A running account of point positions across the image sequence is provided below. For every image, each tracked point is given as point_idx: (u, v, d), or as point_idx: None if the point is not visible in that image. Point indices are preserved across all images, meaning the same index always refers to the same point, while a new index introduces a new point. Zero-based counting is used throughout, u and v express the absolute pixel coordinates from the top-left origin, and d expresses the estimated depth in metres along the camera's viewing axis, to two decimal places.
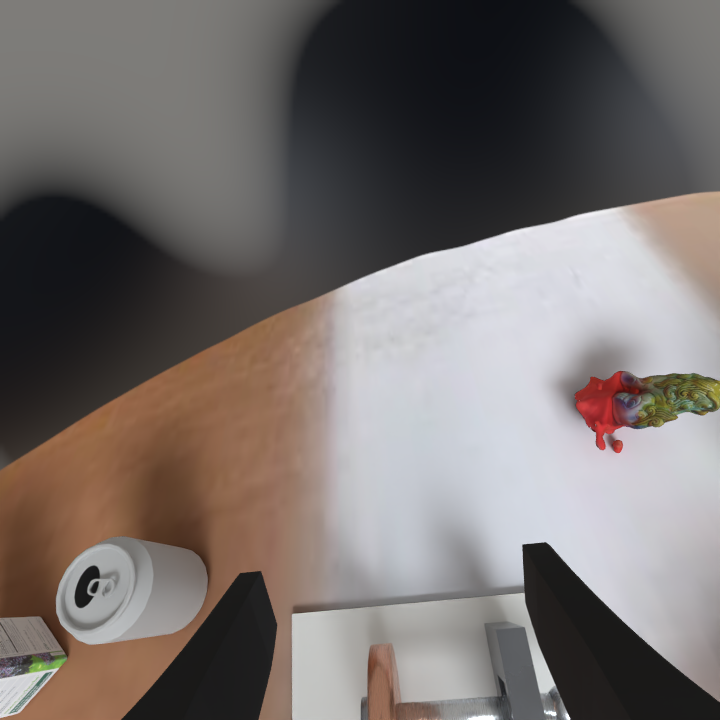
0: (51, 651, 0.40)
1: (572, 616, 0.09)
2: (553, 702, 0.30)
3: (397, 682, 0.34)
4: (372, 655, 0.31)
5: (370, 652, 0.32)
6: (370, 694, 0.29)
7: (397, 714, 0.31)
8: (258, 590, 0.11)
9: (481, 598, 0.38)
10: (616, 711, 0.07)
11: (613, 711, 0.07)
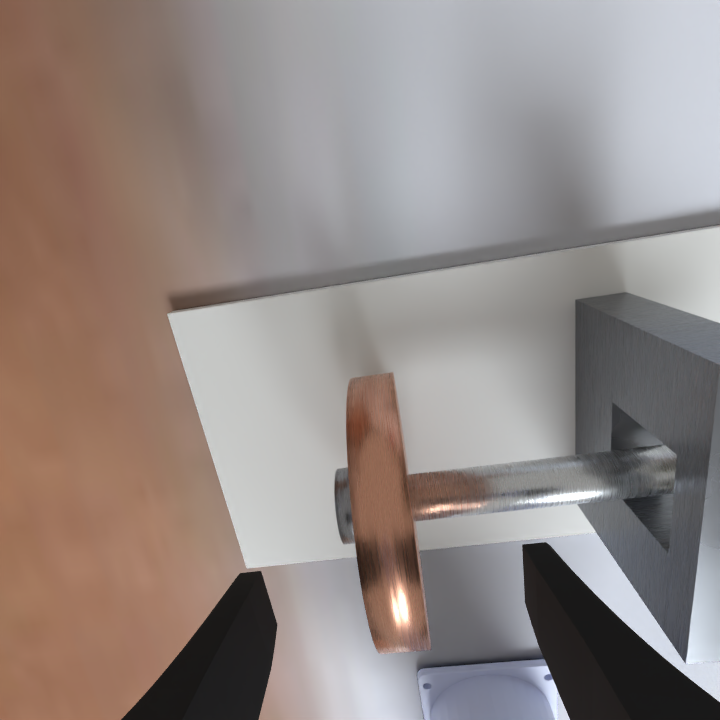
0: None
1: (572, 616, 0.09)
2: None
3: (400, 420, 0.17)
4: (356, 431, 0.12)
5: (349, 422, 0.12)
6: (361, 536, 0.11)
7: (413, 503, 0.15)
8: (258, 590, 0.11)
9: (580, 252, 0.17)
10: (616, 711, 0.07)
11: (613, 711, 0.07)
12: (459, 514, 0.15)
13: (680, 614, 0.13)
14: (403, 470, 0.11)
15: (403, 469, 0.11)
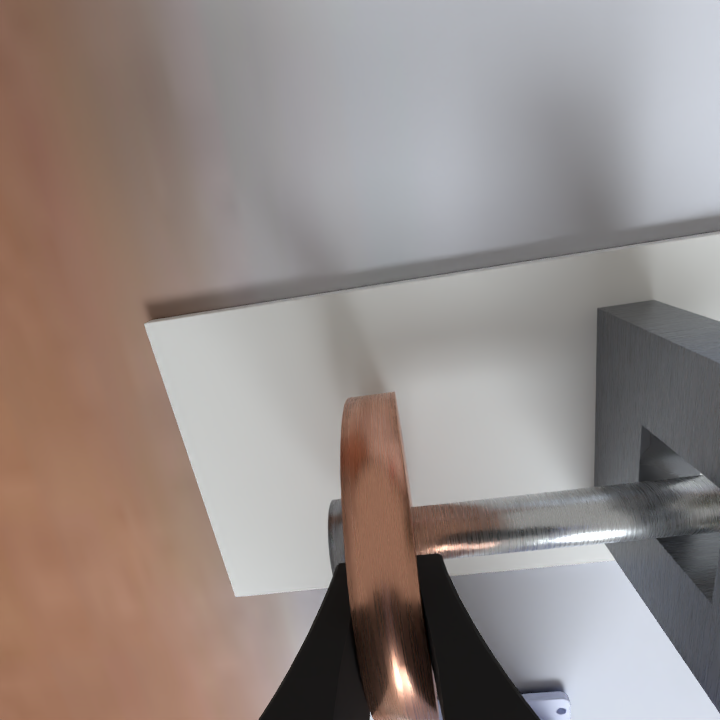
0: None
1: (433, 628, 0.09)
2: None
3: None
4: (352, 467, 0.10)
5: (344, 456, 0.11)
6: (357, 597, 0.09)
7: (418, 543, 0.13)
8: None
9: (603, 255, 0.15)
10: None
11: None
12: (470, 555, 0.13)
13: None
14: (407, 517, 0.10)
15: (407, 516, 0.10)
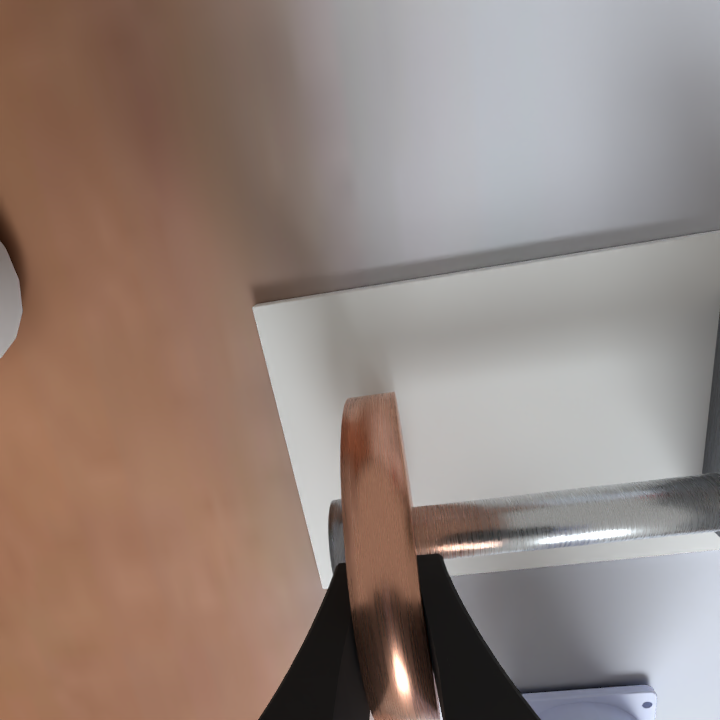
0: None
1: (433, 628, 0.09)
2: None
3: None
4: (352, 467, 0.10)
5: (344, 456, 0.11)
6: (357, 597, 0.09)
7: (418, 543, 0.13)
8: None
9: None
10: None
11: None
12: (470, 555, 0.13)
13: None
14: (408, 517, 0.10)
15: (407, 516, 0.10)
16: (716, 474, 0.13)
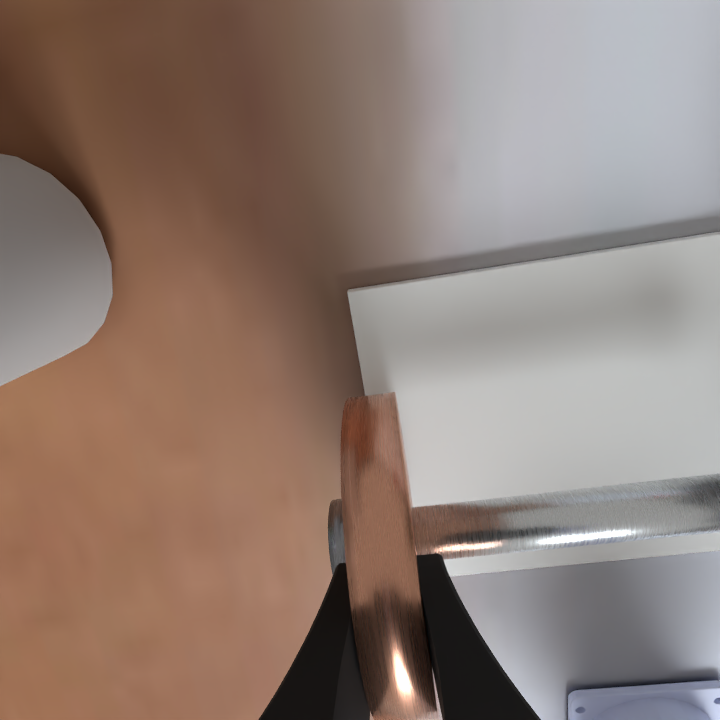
0: None
1: (433, 628, 0.09)
2: None
3: None
4: (352, 467, 0.10)
5: (344, 456, 0.11)
6: (358, 597, 0.09)
7: (418, 543, 0.13)
8: None
9: None
10: None
11: None
12: (470, 555, 0.13)
13: None
14: (408, 517, 0.10)
15: (408, 516, 0.10)
16: (716, 475, 0.13)
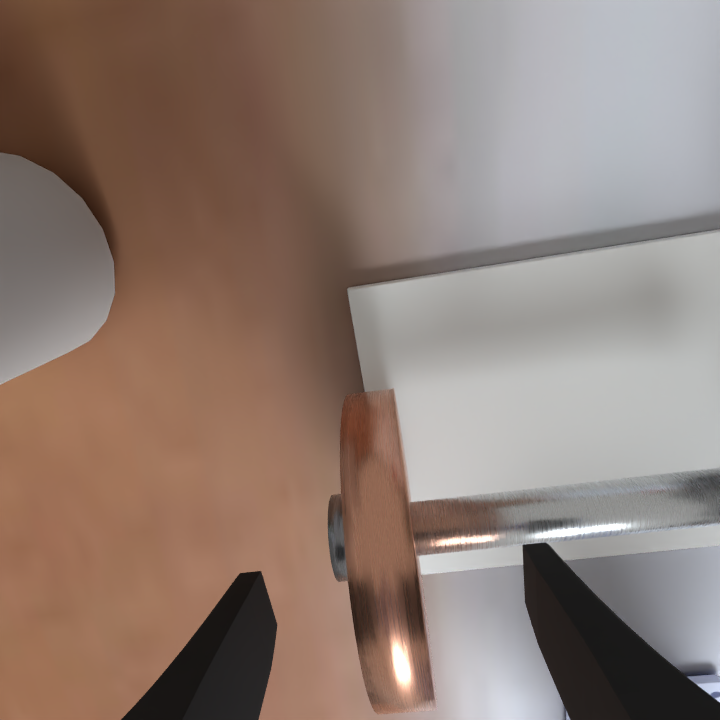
0: None
1: (572, 616, 0.09)
2: None
3: None
4: (351, 461, 0.11)
5: (344, 450, 0.11)
6: (357, 588, 0.09)
7: (416, 537, 0.13)
8: (258, 590, 0.11)
9: None
10: (616, 711, 0.07)
11: (613, 711, 0.07)
12: (468, 549, 0.13)
13: None
14: (406, 510, 0.10)
15: (406, 509, 0.10)
16: (709, 470, 0.13)
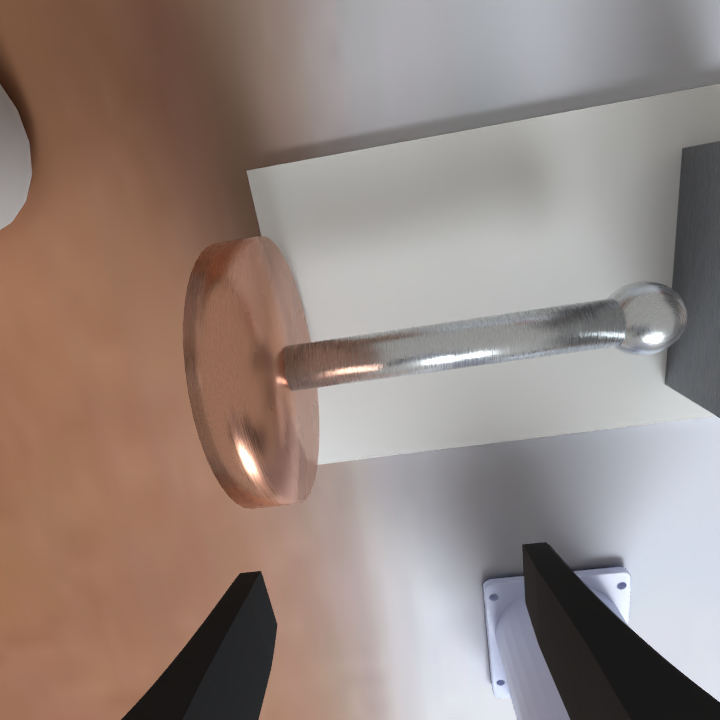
0: None
1: (572, 616, 0.09)
2: (626, 317, 0.13)
3: (294, 305, 0.17)
4: (203, 266, 0.12)
5: (199, 261, 0.12)
6: (191, 356, 0.11)
7: (286, 367, 0.14)
8: (258, 590, 0.11)
9: (691, 92, 0.16)
10: (616, 711, 0.07)
11: (613, 711, 0.07)
12: (334, 379, 0.14)
13: None
14: (239, 294, 0.11)
15: (240, 294, 0.11)
16: None
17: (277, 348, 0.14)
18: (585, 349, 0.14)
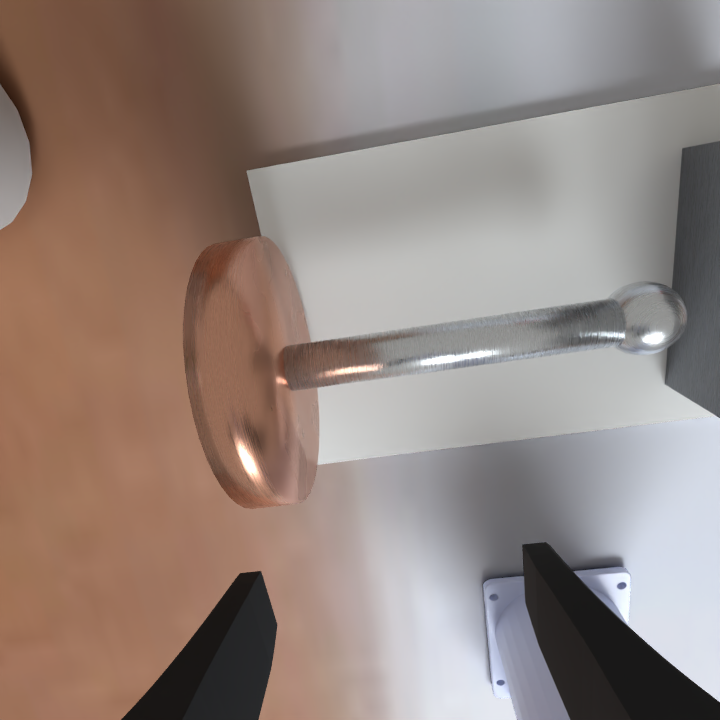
0: None
1: (572, 616, 0.09)
2: (626, 317, 0.13)
3: (294, 305, 0.17)
4: (203, 266, 0.12)
5: (199, 261, 0.12)
6: (191, 356, 0.11)
7: (286, 367, 0.14)
8: (258, 590, 0.11)
9: (691, 92, 0.16)
10: (616, 711, 0.07)
11: (613, 711, 0.07)
12: (334, 379, 0.14)
13: None
14: (239, 294, 0.11)
15: (240, 294, 0.11)
16: None
17: (277, 348, 0.14)
18: (585, 349, 0.14)
